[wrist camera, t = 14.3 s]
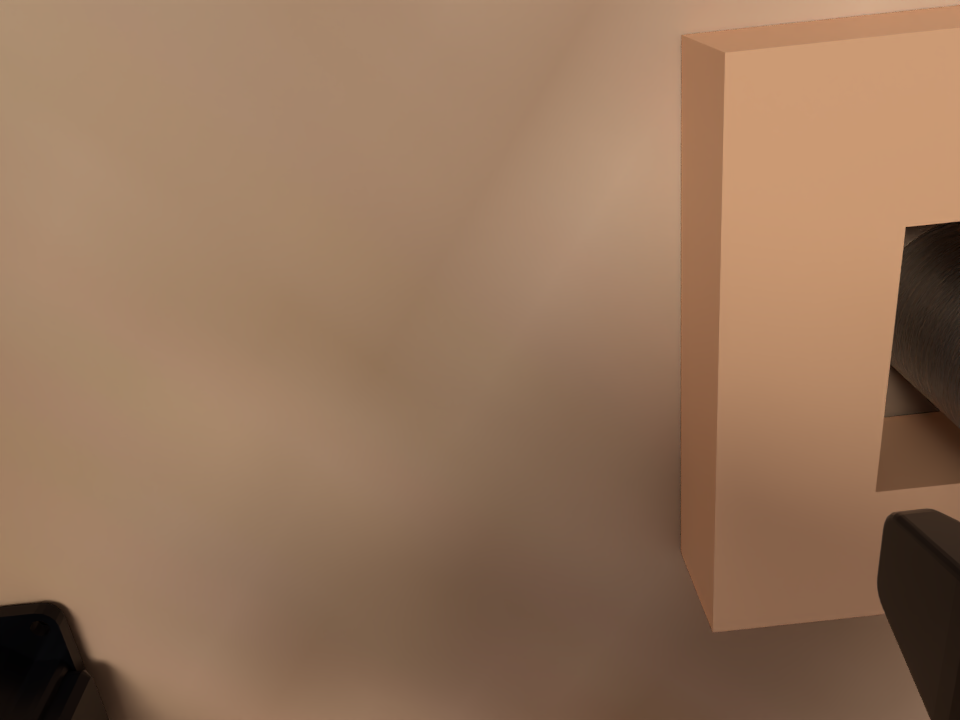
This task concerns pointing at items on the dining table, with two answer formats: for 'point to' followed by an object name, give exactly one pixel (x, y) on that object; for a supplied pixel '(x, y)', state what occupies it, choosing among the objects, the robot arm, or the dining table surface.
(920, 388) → the cylinder
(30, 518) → the dining table surface
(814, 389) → the docking socket
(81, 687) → the robot arm
